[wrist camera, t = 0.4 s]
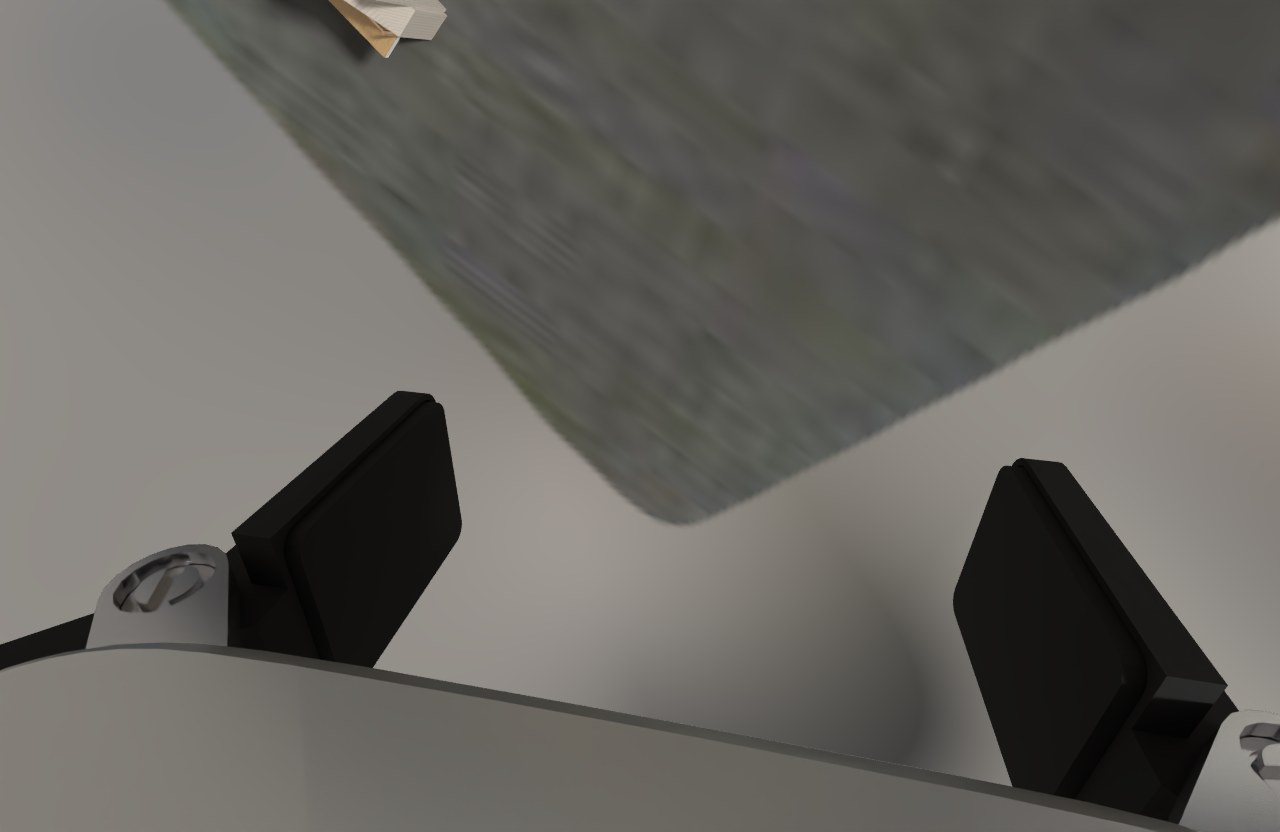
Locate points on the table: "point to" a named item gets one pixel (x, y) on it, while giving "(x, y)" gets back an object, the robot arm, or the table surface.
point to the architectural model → (392, 20)
